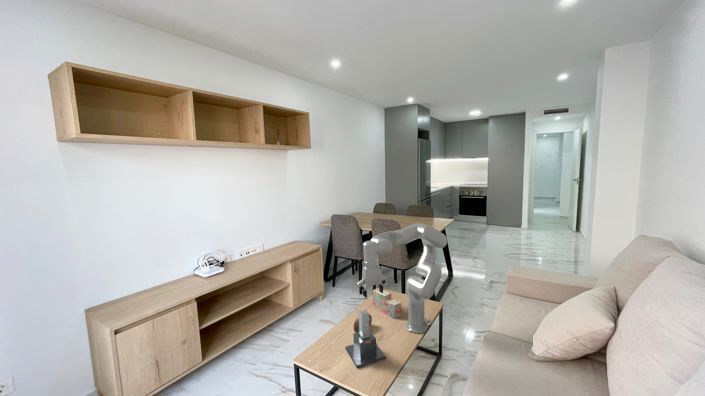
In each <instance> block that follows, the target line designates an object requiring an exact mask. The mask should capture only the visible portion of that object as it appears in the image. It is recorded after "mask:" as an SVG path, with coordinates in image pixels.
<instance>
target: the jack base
mask: <svg viewBox="0 0 705 396" xmlns="http://www.w3.org/2000/svg"><path fill="white" fill-rule="evenodd" d="M369 332H370V338H367V339H363V340H362V339H361V338H360V335H359V332H357V333H356V332H354V333H352V334H353V336H352V337H353V343H352V344H349V345H347V346H345V350H346V352H347V354H348V355H349V357H350V359H351V360H352V362H353V363H354V366H355V368H356V369H359V368H363V367H365V366H368V365H371V364H374V363H377V362H381V361H384V360H387V356H386V354H385V353H384V351H382V350H381V348H380V347H379V345H378V344H377V337H376V336H375V335H374V334H373V333H372V331H371V330H370V329H369Z"/></svg>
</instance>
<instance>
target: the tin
mask: <svg viewBox="0 0 705 396" xmlns="http://www.w3.org/2000/svg"><path fill="white" fill-rule="evenodd" d="M372 319H373V317H372V315H371V314H370V313H369V328H370V327H371V324H372ZM353 332H354V333H357V332H359V317H358V318H356V319H355V321H354V323H353Z"/></svg>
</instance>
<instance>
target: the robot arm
mask: <svg viewBox="0 0 705 396" xmlns="http://www.w3.org/2000/svg"><path fill="white" fill-rule="evenodd" d="M418 239H421V241H422V246H423V249H422V251H423V252H422V253H421V256H420V258H419V260H418V263H417V264H416V266H415V272H416V273H417V274H418V275H420V276H421V277H422V278H421V277H419V276H416V275H410V276H409V277H408V278H407V279H406V281H405V282H406V284H405V288H406V291H407V312H408V313H407V315H408V317H407V318H408V321H407V322H406V323H405V328H406V330H407V331H408V332H410V333H413V334H423V333H425V332H427V330H428V324H431V323H432V319H431V318H427V317H425V315H426V314H425V300H429V299H431V297H433V295H434V294H435V291H436V289H437V287H438V285H439V283H440V281H441V279H442V274H443V273H442V271H443V270H442V267H441V266H440V265H438V264H436V263H435V262H436V261H437V257H438V249H443V248H445V247H446V246H447V244H448V238H447V236H446V235H445V233H443V232H441V231H440V230H438V229H436V228H435V227H433V226H431V225H429V224H424V223H422V222H421V223H420V222H417V223H414V224H411V225H409V226H406V227H404V228H401V229H397V230H391V231H389V230H388V231H386V232H385V231H384V232H382V233H379V234H376V235H374V236H373V237H372V238H371V239H370V240H366V241H364V242H363V243H362V248H363V250H362V251H363V262H364V263H363V264H364V265H363V266H362V273H361V274H362V275H361V280H359V281H358V282H357V286H358V287H359V288H360V289H361V290H362V295H363V297H364V298H365V299H366V298H368V291H367V288H368V287H372V286H376V285H377V286H378V288H379V291H380V292H381V293H383V290H384V286H385V283H386V282H387V278H388V276H386V275H384V274H382V270H381V266H380V263H381V260H379V255H385V254H388V253H391V251H392V250H393V247H394V246H393V245H394V244H395V245H407V244H408V243H411V242H413V241H415V240H418ZM424 278H425V279H424ZM362 284H363V285H362Z"/></svg>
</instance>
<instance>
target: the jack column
mask: <svg viewBox="0 0 705 396" xmlns="http://www.w3.org/2000/svg"><path fill="white" fill-rule="evenodd" d="M369 314H370V312H368V311H367V309H363V310H359V311H358V318H359V335H360V338H361V339H362V340H363V339H367V338H370V332H371V331H370V332H369V330H370V327H369Z"/></svg>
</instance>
